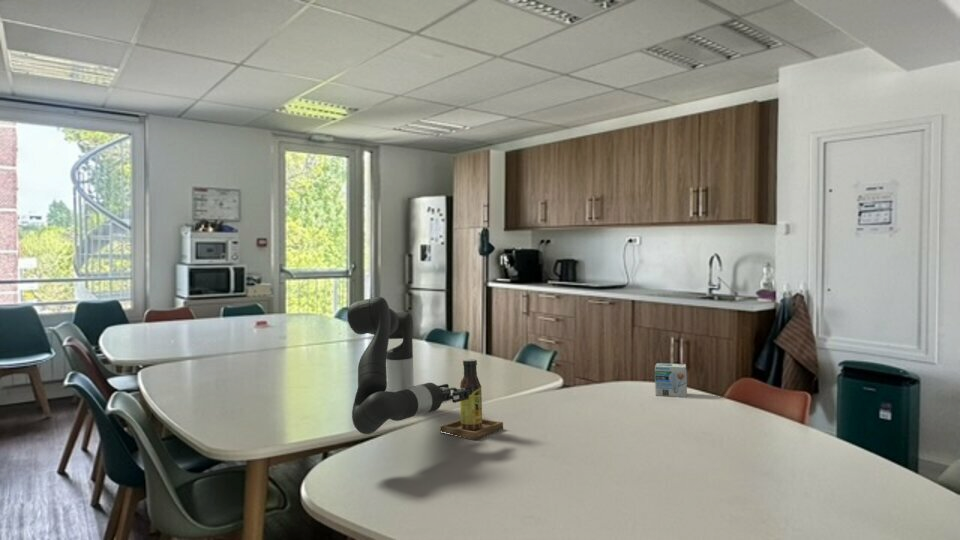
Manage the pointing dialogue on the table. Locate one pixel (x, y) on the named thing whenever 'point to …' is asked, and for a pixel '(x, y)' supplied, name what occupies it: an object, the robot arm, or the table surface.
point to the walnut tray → (486, 429)
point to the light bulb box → (670, 380)
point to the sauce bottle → (471, 398)
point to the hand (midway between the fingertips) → (459, 388)
